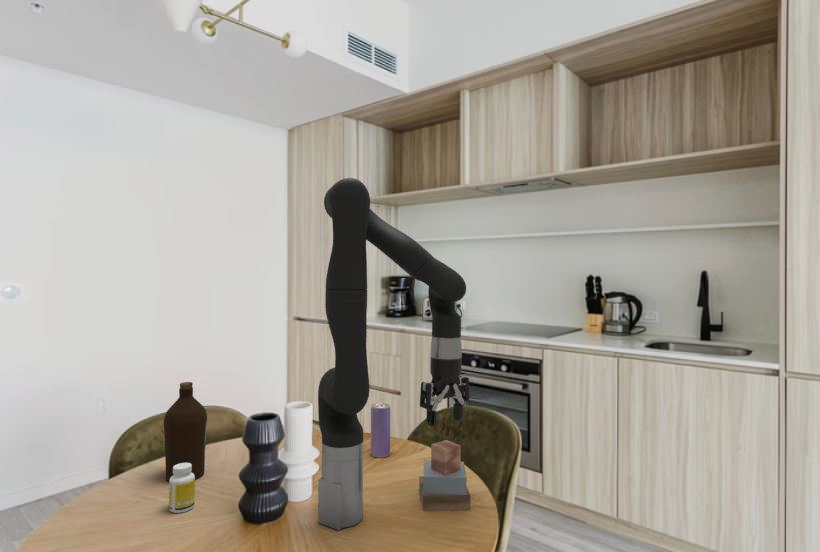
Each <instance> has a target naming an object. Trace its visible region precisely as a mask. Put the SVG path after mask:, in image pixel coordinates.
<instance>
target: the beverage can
mask: <svg viewBox="0 0 820 552" xmlns="http://www.w3.org/2000/svg"><path fill="white" fill-rule="evenodd" d="M390 453H391V404H389V403H386V402H376V403H372V404H371V407H370V454H371V456H372V457H373V458H378V459H379V458H380V459H382V458H386V457H389V455H390Z"/></svg>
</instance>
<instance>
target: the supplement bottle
mask: <svg viewBox="0 0 820 552" xmlns="http://www.w3.org/2000/svg"><path fill="white" fill-rule="evenodd" d="M191 471H192V464H191V463H180V464H177V465H175V466H173V474H174V475H173V476H171V478H170V480H169V481H168V483H169V485H168V487H169V488H168V510H169V512H171V513H174V514H177V513H178V514H180V513H186V512H188V511H190V510H192V509H193V508H194V506H195V505H196V504H195V503H196V502H195V501H196V499H195V498H196V494H195V493H196V485H195V483H196V480H195V475H194V474H193V473H192V472H191Z"/></svg>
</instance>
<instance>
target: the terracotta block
mask: <svg viewBox="0 0 820 552" xmlns="http://www.w3.org/2000/svg"><path fill="white" fill-rule="evenodd" d="M430 448H431V449H430V453H431V454H430V455H431V457H430V461H431V469H432V470H434V471H437V472H439V473H441V474H443V475H445V476H446V475H448V474H451V473H454V472H457V471H460V462H461V459H462V457H461V448H462V447H461V445H460V444H458V443H455V442H453V441H450V440H447V439H445V440H441V441H438V442H434V443H432V444H431V447H430Z"/></svg>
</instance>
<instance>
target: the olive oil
mask: <svg viewBox="0 0 820 552" xmlns="http://www.w3.org/2000/svg"><path fill="white" fill-rule="evenodd" d="M193 385H194V384H193V382H191V381H183V382H180V383H179V388H178V389H179V391H178V393H179V395H178V399H176V401H174V403H173V404H172V405H170V406H169V408H168V409H167V410H166V412H165V414H164V418H163V435H164V437H163V438H164V452H165V453H164V457H165V479H166V481H167V482H169V480H170V478H171V476H173V475H174V474H173V466H175V465H177V464H180V463H191V464H192V471H191V472H192V473H193V474H194V475H195V481H196V480H198V479H200V478H202V476H204V475H205V464H206V463H205V461H206V446H207V445H206V444H207V431H208V430H207V429H208V427H207V426H208V413H207V410H206V409H205V406H204V405H203V404H201V402H199V401H198V400H197V399H196V398H195V397H194V387H193Z"/></svg>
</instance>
